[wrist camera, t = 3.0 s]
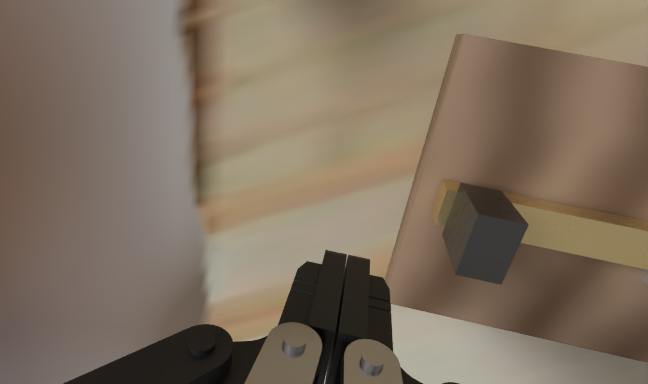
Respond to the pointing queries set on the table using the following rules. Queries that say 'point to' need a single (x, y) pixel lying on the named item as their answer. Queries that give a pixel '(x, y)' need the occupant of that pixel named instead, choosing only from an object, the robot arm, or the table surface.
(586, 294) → the sliding latch board
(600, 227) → the barrel bolt
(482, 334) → the table surface
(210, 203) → the table surface
